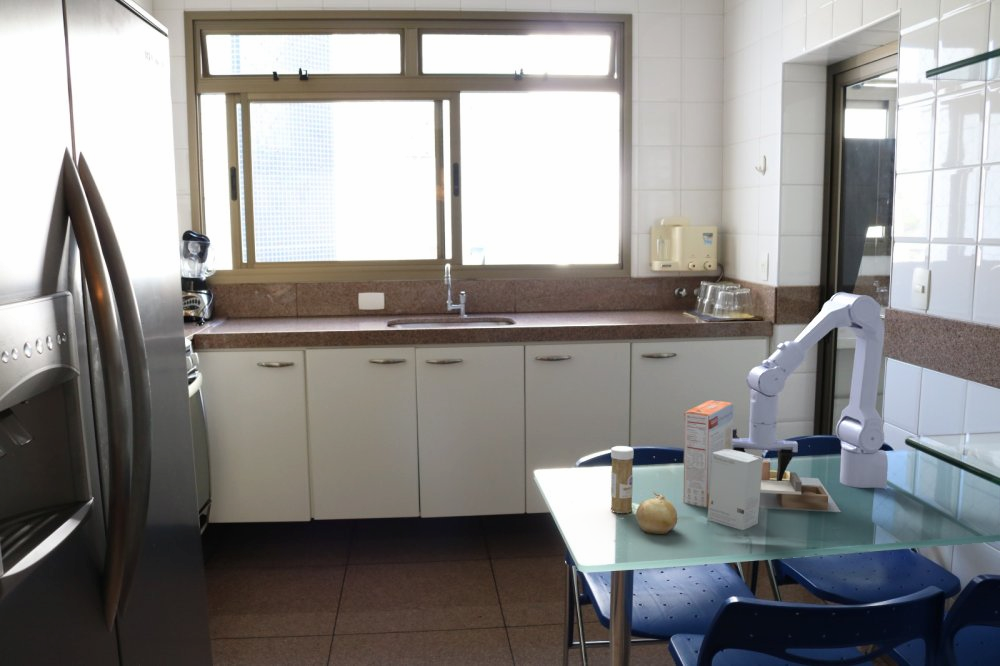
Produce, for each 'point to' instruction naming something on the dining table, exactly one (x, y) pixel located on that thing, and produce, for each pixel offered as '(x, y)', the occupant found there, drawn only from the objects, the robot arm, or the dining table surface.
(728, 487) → the skincare box
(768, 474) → the dowel pin
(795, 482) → the lid
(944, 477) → the dining table surface
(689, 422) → the cracker box
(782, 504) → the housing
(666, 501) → the onion
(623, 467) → the sprinkles bottle
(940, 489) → the dining table surface
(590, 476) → the dining table surface
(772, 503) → the board
